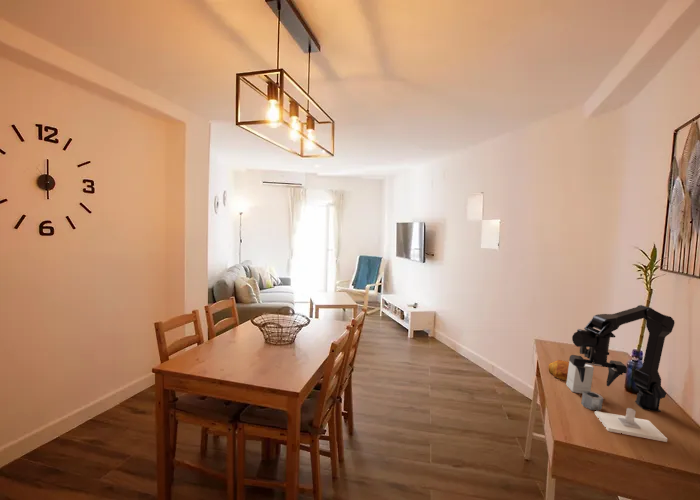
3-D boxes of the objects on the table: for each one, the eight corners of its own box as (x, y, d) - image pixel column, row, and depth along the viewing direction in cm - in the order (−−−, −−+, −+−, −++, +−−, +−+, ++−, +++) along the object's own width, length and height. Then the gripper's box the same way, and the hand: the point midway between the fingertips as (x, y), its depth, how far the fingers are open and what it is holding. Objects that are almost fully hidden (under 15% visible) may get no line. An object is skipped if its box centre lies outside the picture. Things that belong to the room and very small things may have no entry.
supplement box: (590, 395, 156) (594, 367, 155) (572, 392, 158) (575, 364, 156) (583, 387, 163) (587, 360, 162) (565, 384, 165) (569, 358, 163)
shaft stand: (647, 423, 136) (650, 406, 135) (667, 442, 124) (670, 423, 124) (594, 413, 140) (596, 397, 140) (608, 431, 129) (610, 413, 128)
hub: (596, 404, 148) (598, 392, 148) (603, 412, 142) (605, 400, 142) (579, 401, 150) (581, 389, 149) (585, 408, 144) (587, 397, 143)
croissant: (550, 371, 184) (550, 356, 184) (586, 377, 174) (586, 361, 175) (544, 379, 173) (544, 363, 173) (582, 386, 163) (582, 369, 163)
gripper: (616, 343, 149) (611, 379, 150) (567, 337, 153) (562, 371, 155) (630, 353, 138) (624, 391, 140) (576, 346, 143) (571, 383, 144)
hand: (594, 383), depth 145 cm, fingers open, 9 cm apart
